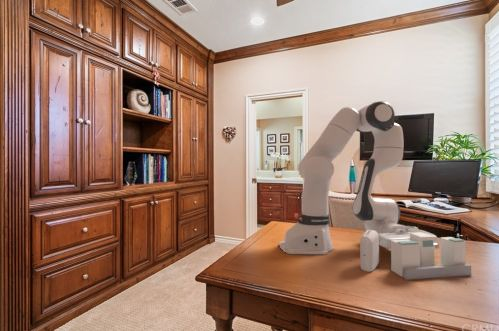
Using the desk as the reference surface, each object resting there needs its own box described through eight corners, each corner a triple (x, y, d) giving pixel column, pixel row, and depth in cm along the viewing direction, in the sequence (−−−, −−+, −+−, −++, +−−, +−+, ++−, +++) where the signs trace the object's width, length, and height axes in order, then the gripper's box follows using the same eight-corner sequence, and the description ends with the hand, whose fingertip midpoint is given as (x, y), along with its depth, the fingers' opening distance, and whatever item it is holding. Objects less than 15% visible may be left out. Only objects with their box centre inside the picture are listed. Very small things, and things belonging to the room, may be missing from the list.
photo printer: (372, 273, 80) (372, 235, 80) (358, 269, 82) (358, 233, 82) (380, 263, 87) (380, 228, 87) (367, 260, 90) (367, 226, 90)
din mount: (406, 279, 75) (405, 245, 75) (391, 270, 82) (390, 239, 81) (471, 275, 77) (470, 241, 77) (451, 266, 84) (451, 235, 84)
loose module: (422, 270, 81) (421, 237, 81) (410, 264, 86) (409, 233, 86) (434, 269, 81) (434, 236, 81) (422, 263, 87) (421, 232, 86)
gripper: (370, 228, 95) (395, 239, 82) (418, 226, 98) (451, 236, 84) (370, 244, 96) (395, 258, 82) (419, 242, 98) (451, 254, 84)
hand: (424, 247), depth 83 cm, fingers open, 8 cm apart
